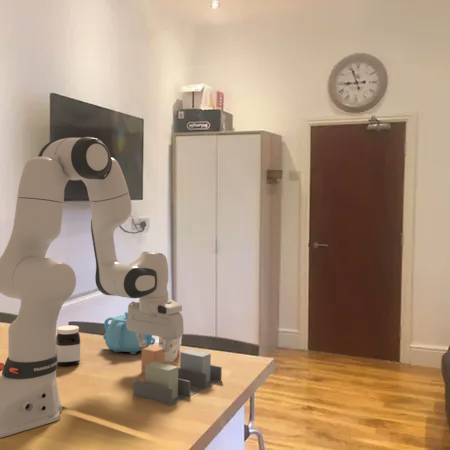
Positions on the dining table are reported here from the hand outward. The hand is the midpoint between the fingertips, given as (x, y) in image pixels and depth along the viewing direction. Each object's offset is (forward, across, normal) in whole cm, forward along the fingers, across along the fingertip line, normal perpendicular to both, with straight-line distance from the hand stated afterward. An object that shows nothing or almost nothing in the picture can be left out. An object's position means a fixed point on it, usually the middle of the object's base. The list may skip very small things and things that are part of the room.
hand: (154, 349), depth 166 cm
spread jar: (+8, -32, -8) cm, 34 cm away
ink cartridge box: (+8, -5, +14) cm, 17 cm away
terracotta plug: (+8, 0, 0) cm, 8 cm away
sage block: (+6, +16, -15) cm, 23 cm away
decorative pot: (+8, -25, +16) cm, 31 cm away
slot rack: (+8, +16, -8) cm, 19 cm away
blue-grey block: (+7, +16, 0) cm, 17 cm away
